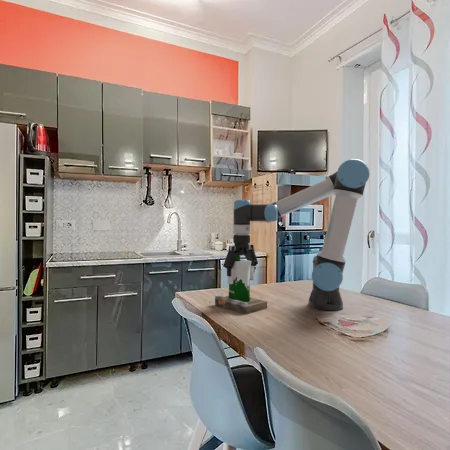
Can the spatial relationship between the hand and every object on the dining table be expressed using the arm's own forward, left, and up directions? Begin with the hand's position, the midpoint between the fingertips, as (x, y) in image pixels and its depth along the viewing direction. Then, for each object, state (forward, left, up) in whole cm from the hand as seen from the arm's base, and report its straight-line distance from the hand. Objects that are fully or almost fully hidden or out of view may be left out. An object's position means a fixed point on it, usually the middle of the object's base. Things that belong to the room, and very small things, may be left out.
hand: (241, 281), depth 147 cm
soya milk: (0, +1, -8) cm, 8 cm away
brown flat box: (0, 0, -11) cm, 11 cm away
